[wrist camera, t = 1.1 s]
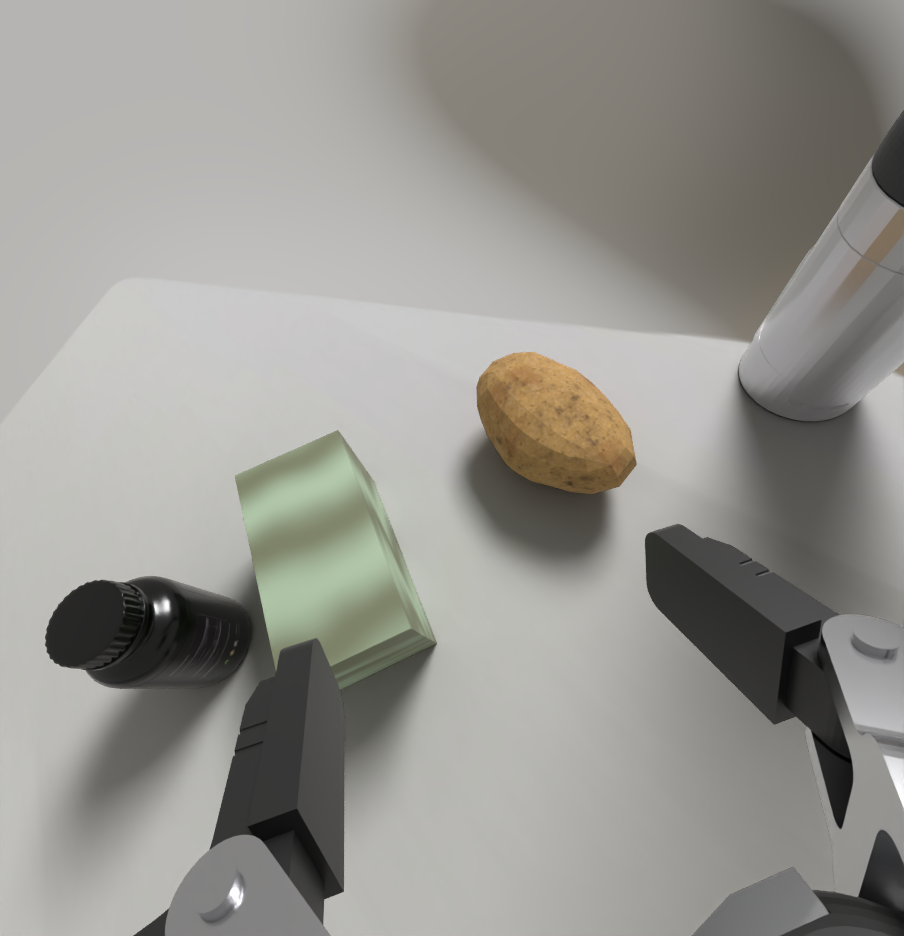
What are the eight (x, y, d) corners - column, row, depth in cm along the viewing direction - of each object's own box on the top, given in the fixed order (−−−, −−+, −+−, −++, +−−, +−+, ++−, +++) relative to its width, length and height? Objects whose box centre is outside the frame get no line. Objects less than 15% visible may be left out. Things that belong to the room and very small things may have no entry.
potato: (570, 545, 35) (582, 508, 28) (456, 436, 41) (443, 382, 34) (654, 468, 37) (685, 415, 30) (533, 375, 43) (535, 312, 36)
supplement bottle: (157, 672, 35) (-1, 664, 25) (201, 588, 38) (76, 547, 27) (228, 702, 33) (91, 706, 23) (269, 611, 36) (164, 577, 26)
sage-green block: (437, 643, 33) (410, 628, 25) (338, 691, 33) (279, 690, 25) (374, 482, 40) (338, 430, 32) (292, 519, 40) (234, 475, 32)
